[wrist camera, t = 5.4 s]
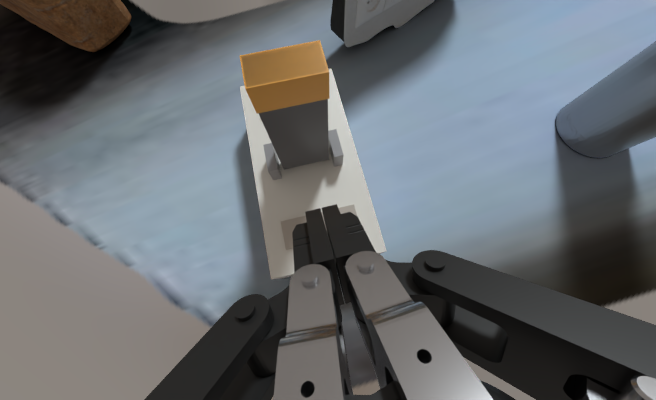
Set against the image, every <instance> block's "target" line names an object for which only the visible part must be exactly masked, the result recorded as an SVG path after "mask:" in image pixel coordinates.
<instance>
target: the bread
mask: <svg viewBox="0 0 656 400" xmlns="http://www.w3.org/2000/svg"><path fill="white" fill-rule="evenodd" d="M0 4H1V5H2V6H4V7H6V8H8V9H10V10H12V11H14V12H15V13H17V14H19V15H20V16H22V17H23V18H25V19H26V20H28V21H29V22H31V23H33V24H35V25H37V26H38V27H40V28H42V29H44V30H46V31H47V32H49V33H51V34H53V35H54V36H56V37H58V38H59V39H61V40H63V41H64V42H66V43H68V44H69V45H72V46H74V47H77V48H80V49H83V50H86V51H90V52H96V51H98V50H101V49H102V48H104V47H106V46H107V45H109V44H110V43H111V42H113V41H114V40H115V39H116V38H117V37H118V36H119V35H120V34H121V33H122V32H123V31H124V30H125V29H126V27H127V26H128V25H129V23H130V21H131V15H130V13H129V12H128V10H127V8H126V7H125V6H124V4H123V3H122V2H121V0H0Z"/></svg>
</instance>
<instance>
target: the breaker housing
mask: <svg viewBox="0 0 656 400" xmlns="http://www.w3.org/2000/svg"><path fill="white" fill-rule="evenodd" d="M240 91H241V97H242V103H243V109H244V115H245V121H246V128H247V134H248V140H249V146H250V152H251V158H252V165H253V171H254V177H255V183H256V189H257V195H258V202H259V208H260V214H261V220H262V226H263V232H264V239H265V245H266V251H267V257H268V263H269V269H270V276H271V279H281V278H286V277H290V276H292V275H293V274H294V255H293V238H292V232H293V230H294V228H295V226H296V225H298V224H302V223H306V222H307V220H306V214H305V212H306V211H310V210H315V209H319V208H320V209H321V213H322V216H323V212H322V208H323V207H327V206H331V205H335V204H337V206H338V209H339V211H340V213H341V214H343V213H347V212H351V213H353V214H354V215H356V216H358V218H359V220H360V222H361V225H362V226H363V228H364V230H365V232H366V234H367V236H368V238H369V240H370V242H371V244H372V245H373V247H374V249H375V251H376V253H378V254H380V253H383V252H385V251H386V247H385V244H384V241H383V237H382V234H381V231H380V227H379V224H378V221H377V218H376V214H375V211H374V208H373V204H372V201H371V198H370V194H369V191H368V188H367V184H366V181H365V178H364V174H363V171H362V168H361V165H360V161H359V158H358V155H357V151H356V148H355V145H354V141H353V138H352V135H351V131H350V128H349V125H348V121H347V118H346V115H345V112H344V108H343V105H342V102H341V98H340V95H339V92H338V88H337V85H336V82H335V78H334V75H333V72H332V68H331V69H329V99H328V141H329V160H325V161H321V162H316V163H312V164H307V165H303V166H298V167H294V168H289V169H285V170H284V169H283V167H282V165H281V162H280V160H279V158H278V156H277V153H276V151H275V149H274V147H273V145H272V142H271V140H270V138H269V136H268V133H267V131H266V129H265V127H264V125H263V122H262V120H261V118H260V116H259V113H258V114H257V113H256V111H255V109H254V107H253V104H252V102H251V100H250V98H249V96H248V94H247V91H246V89H245V86H241V87H240ZM323 220H324V217H323ZM324 224H325V221H324ZM325 227H326V226H325ZM326 231H327V230H326Z"/></svg>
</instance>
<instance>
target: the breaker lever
mask: <svg viewBox="0 0 656 400" xmlns="http://www.w3.org/2000/svg"><path fill="white" fill-rule="evenodd" d="M240 61H241V67H242V73H243V78H244V84H245V89H246V91H247V94H248V96H249V98H250V100H251V102H252V104H253V107H254V109H255V111H256V113H257V114H258V113H259V116H260V118H261V120H262V122H263V125H264V127H265V129H266V131H267V133H268V136H269V138H270V140H271V142H272V145H273V147H274V149H275V151H276V153H277V156H278V158H279V160H280V162H281V165H282V167H283V169H284V170H285V169H289V168H294V167H298V166H303V165H307V164H312V163H316V162H321V161H325V160H329V141H328V99H329V69H328V66H327V63H326V59H325V56H324V52H323V49H322V46H321V42H320V40H319V41H314V42H308V43H303V44H298V45H293V46H288V47H282V48H277V49H272V50H267V51H262V52H256V53H251V54H246V55H241V56H240Z"/></svg>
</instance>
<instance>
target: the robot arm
mask: <svg viewBox="0 0 656 400" xmlns="http://www.w3.org/2000/svg"><path fill="white" fill-rule="evenodd" d="M556 126H557V130H558V132H559V134H560V136H561V138H562V139H563V141H564V142H565V143H566V144H567V145H568V146H569V147H571V148H572V149H574V150H575V151H577V152H579V153H581V154H583V155H586V156H589V157H595V158H604V157H608V156H611V155H614V154H616V153H619V152H621V151H623V150H626V149H628V148H630V147H633V146H635V145H638V144H640V143H642V142H645V141H647V140H650V139H652V138H654V137H656V41H655V42H654V43H653V44H651V45H650V46H648V47H647V48H646V49H644V50H643V51H642V52H640V53H639V54H637V55H636V56H635V57H633V58H632V59H630V60H629V61H628V62H626V63H625V64H623V65H622V66H621V67H619V68H618V69H616V70H615V71H614V72H612V73H611V74H609V75H608V76H607V77H605V78H604V79H602V80H601V81H600V82H598V83H597V84H595V85H594V86H593V87H591V88H590V89H588V90H587V91H585V92H584V93H583V94H581V95H580V96H578V97H577V98H576V99H574V100H573V101H572V102H570V103H569V104H567V105H566V106H565V107H563V108H562V109H561V110H560V112H559V113H558V115H557V118H556ZM322 212H323V216H322V213H321V209H320V208H319V209H315V210H310V211H306V212H305V214H306V220H307V222H306V223H302V224H298V225H296V226H295V228H294V230H293V232H292V238H293V255H294V274H293V275H292V277H291V279H290V285H289V286H288V287H287V288H286V289H285V290H284V291H282V292H281V293H279V294H278V295H276V296H274V297H272V298H270V299H268V300H267V299H266V298H265V297H264V296H262V295H258V294H254V295H248V296H246V297H243V298H241V299H240V300H238V301H237V302H235V303H234V304H233V305H232V306H231V307H230V308H229V309H228V310H227V312H226V313H225V314H224V315H223V316H222V317H221V318H220V319H219V320H218V321H217V322H216V323H215V324H214V326H213V327H212V328H211V329H210V330H209V331H208V332H207V333H206V334H205V335H204V336H203V337H202V338H201V339H200V341H199V342H198V343H197V344H196V345H195V346H194V347H193V348H192V349H191V350H190V351H189V352H188V354H187V355H186V356H185V357H184V358H183V359H182V360H181V361H180V362H179V363H178V364H177V365H176V366H175V368H174V369H173V370H172V371H171V372H170V373H169V374H168V375H167V376H166V377H165V378H164V379H163V380H162V381H161V383H160V384H159V385H158V386H157V387H156V388H155V389H154V390H153V391H152V392H151V393H150V394H149V395H148V396H147V398H146V399H145V400H271V399H272V397H273V395H274V398H273V400H515V399H514V398H512V397H511V396H509V395H507V394H506V393H504V392H503V391H501V390H499V389H497V388H496V387H493V386H492V385H489V384H488V383H485V382H483V381H480V380H479V379H478V378H477V376H476V375H475V373H474V372H473V371H472V369H471V368H470V366H469V365H468V364H467V362H466V361H465V359H464V358H466V359H468V360H469V361H471V362H473V363H475V364H477V365H478V366H480V367H481V368H483V369H485V370H487V371H488V372H490V373H492V374H494V375H495V376H497V377H499V378H500V379H503V380H504V381H505V382H507V383H509V384H511V385H512V386H514V387H516V388H517V389H519V390H521V391H522V392H524V393H526V394H528V395H530V396H531V397H533V398H534V399H536V400H656V325H653V324H651V323H648V322H645V321H642V320H639V319H636V318H633V317H630V316H627V315H624V314H621V313H618V312H616V311H613V310H610V309H607V308H604V307H601V306H598V305H595V304H592V303H590V302H587V301H584V300H581V299H578V298H575V297H572V296H569V295H566V294H563V293H560V292H558V291H555V290H552V289H549V288H546V287H543V286H540V285H537V284H534V283H531V282H528V281H526V280H523V279H520V278H517V277H514V276H511V275H508V274H505V273H502V272H499V271H497V270H494V269H491V268H488V267H485V266H482V265H479V264H476V263H473V262H470V261H467V260H465V259H462V258H459V257H456V256H453V255H450V254H447V253H444V252H441V251H435V250H428V251H423V252H421V253H419V254H417V255H416V256H415V257H414V259H413V261H412V263H396V262H390V261H387V260H385V259H384V258H383V256H381V255H380V254H378V253H376V251H375V249H374V247H373V245H372V244H371V242H370V240H369V238H368V236H367V234H366V232H365V230H364V228H363V226H362V225H361V222H360V220H359V218H358V216H356V215H354V214H353V213H351V212H347V213H343V214H341V213H340V211H339V209H338V206H337V204H335V205H331V206H327V207H323V208H322ZM323 217H324V220H323ZM324 221H325V224H324ZM325 226H326V227H325ZM326 230H327V231H326ZM336 269H337V270H336ZM337 273H338V274H337ZM338 277H339V279H338ZM339 280H340V283H339ZM340 284H341V288H342V291H343V295H344V299H345V303H349V302H351V303H352V306H353V310H354V314H355V319H356V323H357V325H358V328H359V331H360V333H361V336H362V338H363V341H364V344H365V346H366V349H367V351H368V354H369V357H370V359H371V362H372V365H373V367H374V370H375V373H376V376H377V379H378V383H379V386H380V390H379V391H377V392H376V393H374V394H372V395H353V391H352V386H351V380H350V374H349V367H348V360H347V354H346V347H345V340H344V334H343V327H342V314H341V310H340V306H339V305H342V304H344V301H343V297H342V292H341V288H340ZM463 357H464V358H463Z"/></svg>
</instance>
